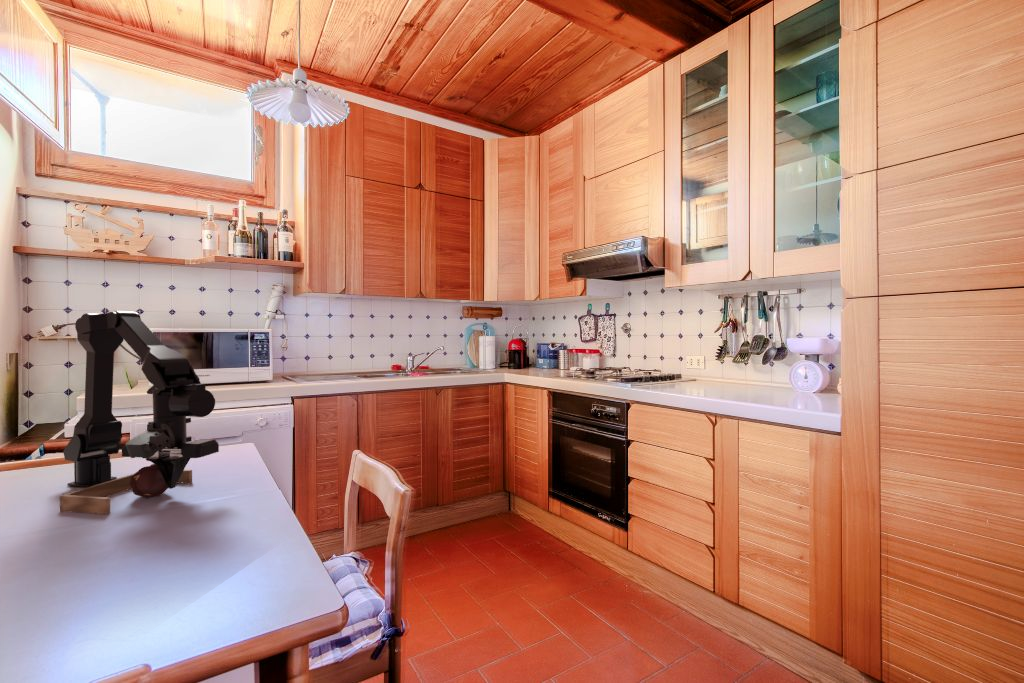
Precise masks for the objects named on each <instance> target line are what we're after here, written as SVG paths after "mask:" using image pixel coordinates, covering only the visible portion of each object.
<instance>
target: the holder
mask: <svg viewBox="0 0 1024 683" xmlns="http://www.w3.org/2000/svg"><path fill="white" fill-rule="evenodd" d="M135 473H136V472H134V473H131V474H128V475H125V476H121V477H117V479H114V480H111V481H107V482H104V483H101V484H97V485H94V486H91V487H83V488H82V489H78V490H75V491H71V492H69V493H65V494H61V495H59V512H67V511H72V512H71V513H80V512H85V513H84V514H94V513H97V514H98V515H108V514H111V497H110V496H113V495H116V494H119V493H122V492H125V491H129V490H132V488H131V486H130V484H129V483H130V481H131V476H132V475H134V474H135ZM178 482H180V483H179V484H188V483H190V484H192V483H193V470H192V469H184V470H183V472H182V474H181V476H180V478H179V480H178ZM181 482H183V483H181ZM191 482H192V483H191Z"/></svg>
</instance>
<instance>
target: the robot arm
mask: <svg viewBox="0 0 1024 683" xmlns="http://www.w3.org/2000/svg"><path fill="white" fill-rule="evenodd" d="M74 327H75V331H76V335H77V336H76V338H77V341H78V342H79V344H80V345H81V347H82V348H83V349H84V350H85V351H86V353H85V354H86V357H85V359H86V360H85V388H84V408H83V409H84V413H83V415H82V416H81V417H80V419H79V420H77V422H76V423H75V425H74V426H73V427H74V428H73V435H72V436H71V438H70V440H69V441H68V443H67V445H66V446H65V448H64V449H63V451H62V452H63V458H64V461H69V462H70V461H71V462H74V463H73V464H74V466H73V468H74V470H73V471H74V481H71V482H68V483H66V485H67V486H68V487H83V488H88V487H91V486H94V485H97V484H101V483H104V482H107V481H111V480H114V479H117V478H118V477H117V476H112V462H111V455H117V454H119V452H120V447H121V444H122V443H121V442H122V438H123V435H122V434H123V433H122V430H123V429H122V427H123V423H122V421H121V420H118V419H117V417H115V415H114V414H113V389H114V369H115V368H114V367H115V366H114V365H115V364H114V363H115V352H116V351H117V350H118V349H119V347H120V346H121V345H122V344H123V342H124V341H125V342H126V343H127V345H128V346H129V347H130V348H131V349H132V351H133V352H135V354H136V355H137V356H138V357H139V358H140V360H141V361H142V364H141V371H142V373H143V375H144V376H145V378H146V379H147V380H148V382H149V383H150V384H152V386H151V387H149V389H147V390H146V394H147V395H152V418H153V421H152V420H151V421H148V422H147V425H146V431H144V432H142V433H140V434H138V435H136V436H134V437H133V438H131V439H130V440H128V441H126V442H125V443H124V444H123V445H122V447H121V457H127V458H130V459H135V458H141V459H145V460H146V461H147V462H151V463H152V464H156V465H157V466H158V468H159V470H160V471H161V473H162V476H163V478H164V480H165V482H166V484H167V486H168V489H174V488H176V487H177V484H178V483H177V482H178V480H179V478H180V476H181V474H182V472H183V470H185V468H186V466H187V465H188V464H189V462H190V460H191V459H198V458H202V457H203V458H204V457H206V456H209V455H213V454H216V453H219V452H220V447H219V442H218V441H217V440H216V439H212V438H211V439H209V438H207V439H205V438H201V439H197V440H193V441H192V436H190V435H189V436H188V434H187V424H190V423H191V422H192V418H193V417H194V418H205V417H206V416H208V415H210V414H212V412H213V411H214V409H215V406H216V398H215V397H214V394H213V393H212V392H211V390H210V391H209V390H207V389H206V384H205V383H202V382H201V380H200V377H199V376H198V375H197V373H196V371H195V369H194V367H193V366H192V364H191V362H190V361H189V359H188V358H187V357H186V356H185V355H183V354H182V353H181V352H180V351H177V350H175V349H172V348H169V347H167V346H166V345H164V344H163V343H162V341H161V340H160V339H159V338H158V337H157V335H155V333H153V331H152V330H151V329H149V327H148V326H147V325H146V324H145V323H144V321H143V320H142V318H141V315H140V314H139V313H138V312H135V311H128V310H127V311H126V310H113V311H110V312H105V313H83V314H82V315H81V317H79V318H78V319H76V321H75V326H74ZM191 417H192V418H191Z"/></svg>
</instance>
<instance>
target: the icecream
mask: <svg viewBox="0 0 1024 683" xmlns="http://www.w3.org/2000/svg"><path fill="white" fill-rule="evenodd" d="M134 473H135V474H134ZM134 473H133V474H134V475H132V476H131V481H130V483H129V484H130V486H131V492H132V493H133V495H136V496H137V497H141V498H145V499H149V498H150V499H151V498H154V497H159V496H162V495H163V494H164V493H165V492H166V491H167V490H168V489H169V488H168V486H167V484H166V482H165V480H164V478H163V476H162V473H161V471H160V470H159V468H158V466H157V465H156V464H154V463H152V464H150V465H148V466H147V465H146V466H144V467H142V468H140V469H138V470H137V471H136V472H134Z"/></svg>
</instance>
